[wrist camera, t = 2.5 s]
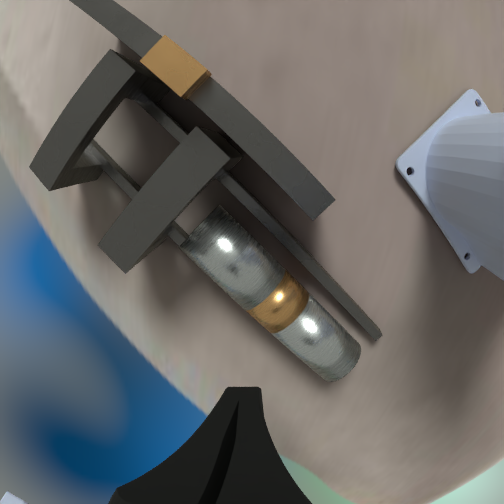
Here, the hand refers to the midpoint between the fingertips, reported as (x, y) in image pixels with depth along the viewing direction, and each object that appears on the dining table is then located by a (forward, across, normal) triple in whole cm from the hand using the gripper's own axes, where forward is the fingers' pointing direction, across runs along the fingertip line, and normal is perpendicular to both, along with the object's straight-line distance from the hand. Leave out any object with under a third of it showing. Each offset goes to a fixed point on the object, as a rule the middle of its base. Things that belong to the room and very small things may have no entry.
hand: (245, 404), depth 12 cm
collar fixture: (+9, +2, -7) cm, 11 cm away
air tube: (+8, -2, -2) cm, 9 cm away
